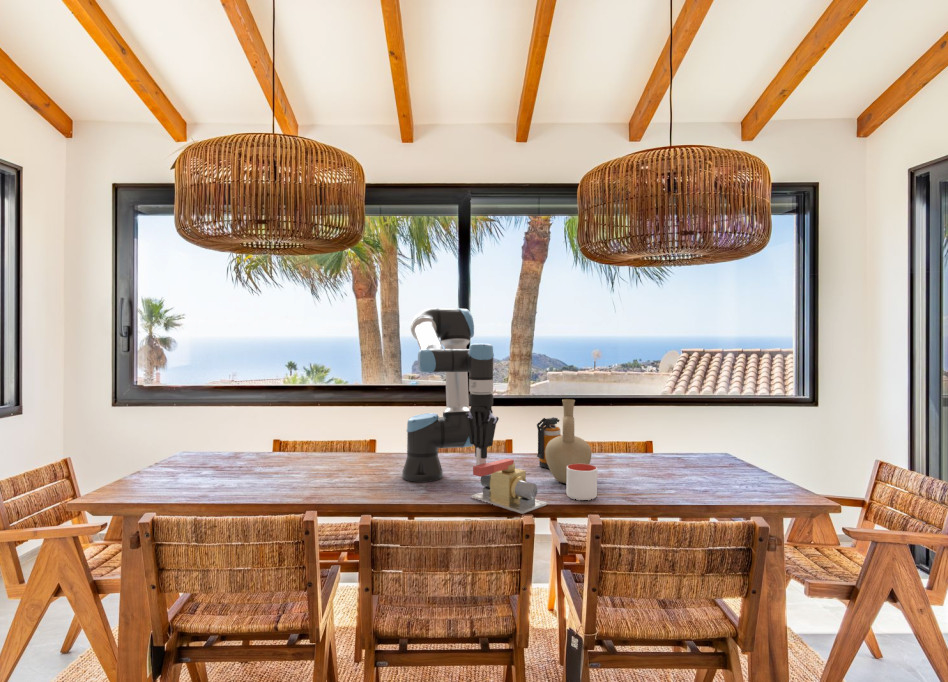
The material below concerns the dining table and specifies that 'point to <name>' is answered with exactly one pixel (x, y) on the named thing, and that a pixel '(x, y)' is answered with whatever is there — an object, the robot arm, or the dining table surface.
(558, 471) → the vase
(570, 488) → the cup
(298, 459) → the dining table surface
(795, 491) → the dining table surface
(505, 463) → the lever
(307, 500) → the dining table surface
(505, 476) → the valve
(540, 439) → the canister
